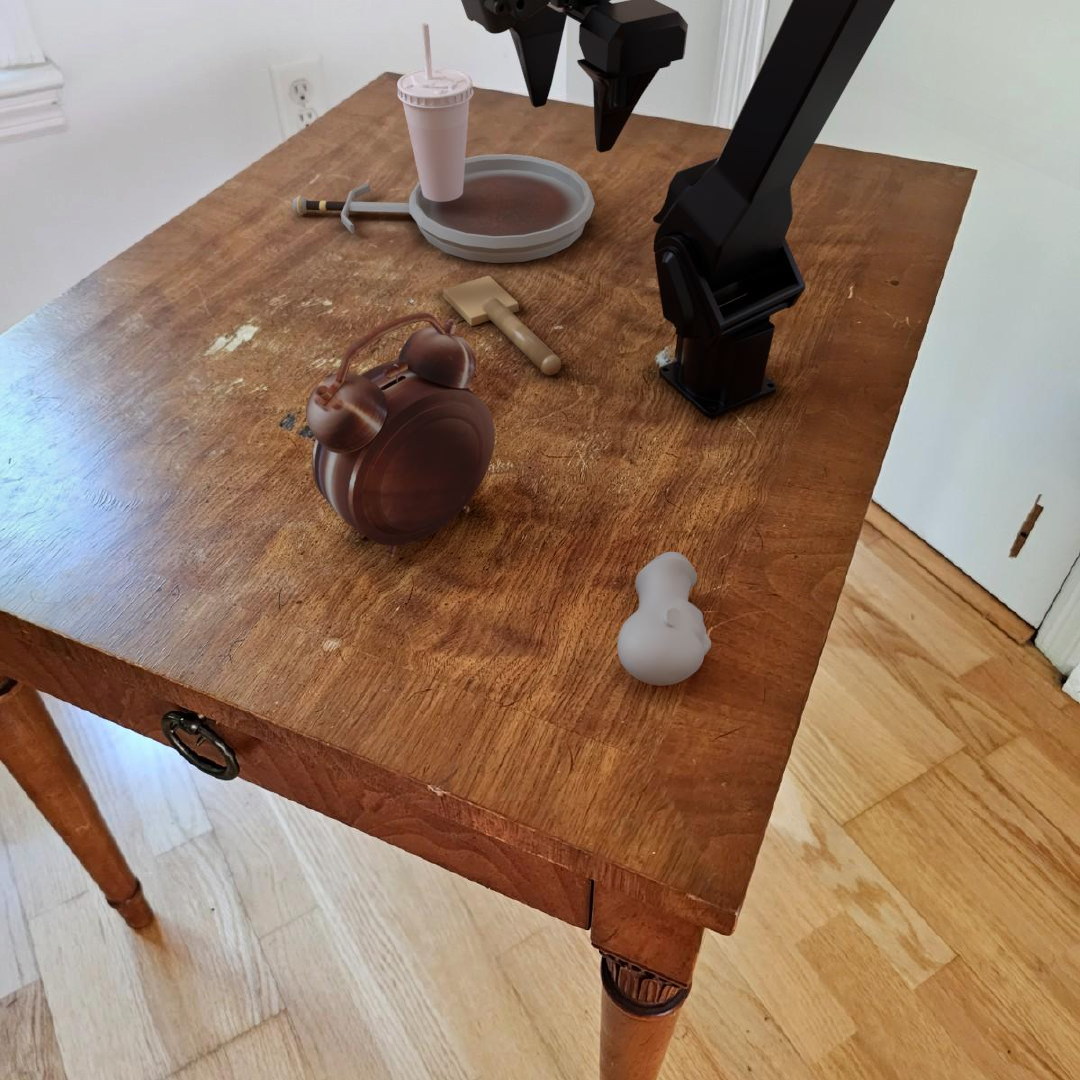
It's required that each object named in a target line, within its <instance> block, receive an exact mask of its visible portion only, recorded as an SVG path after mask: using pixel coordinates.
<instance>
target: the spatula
mask: <svg viewBox="0 0 1080 1080" xmlns="http://www.w3.org/2000/svg"><path fill="white" fill-rule="evenodd" d="M442 297H443V299H444V300H445V301H446V302H447V303H448V304H449V305H450V306H451V307H452V308H453V309H454V310H455V311H456V312H457V313H458V314H459V315H460V316H461V317H462V318H463V319H464V321H466V322H467V324H469V326H470V327H474V326H477V325H480V324H484V323H486V322H489V321H491V322H492V323H493V324H494V325H495V326H496V327H497V328H498V329H499V330H500V332H502V333H503V334H504V336H506V337H507V338H508V340H510V342H512V343H513V344H514V346H515V347H517V348H518V349H519V350H520V351H521V352H522V353H523V354H524V355H525V356H526V358H528V359H529V360H530V361H531V362H532V364H534V365H535V366H536V367H537V368H538V369H539V370H540V371H541V372H542V373H543V374H545V375H548V376H555V375H556V374H557V373H559V372H560V370H561V367H562V361H561V358H560V357H559V356H558V355H557V354H556V353H555V352H554V351H553V350H552V349H551V348H549V347H548V346H547V344H545V343H544V341H542V340H541V338H539V337H538V336H537V335H536V334H535V333H534V332H533V331H532V330H531V329H530V328H529V327H528V326H526V324H525V323H524V322H522V320H521V319H520V318H518V317H517V316H516V314H514V313H517V312H519V311H520V309H519V308H520V307H519V302H518V301H517V300H516V299H515V298H514V297H513V296H512V295H510V294H509V292H507V290H505V289H504V288H503V287H502V286H501V285H500V284H499V283H498V282H497V281H495V279H494V278H492V277H491V276H490V275H486V276H482V277H479V278H476V279H473V280H468V281H465V282H463V283H459V284H456V285H453V286H450V287H446V288H443V289H442Z"/></svg>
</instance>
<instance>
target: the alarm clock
mask: <svg viewBox="0 0 1080 1080" xmlns="http://www.w3.org/2000/svg"><path fill="white" fill-rule="evenodd" d="M421 322H427V323H429V324H430V325H431V326H432V327H424V328H421V329H418V330H417V331H414V332H413V333H412V334H411V335H410V336H409V337H408V338H407V340H406V341H405V342H404V344H403V346H402V348H401V349H400V352H399V354H398V357H397V359H393V360H390V361H386V362H383V363H381V364H379V365H376V366H374V367H371V368H370V369H368V370H367V371H366V372H364V373H362V374H357V373H353V372H349V369H350V366H351V363H352V361H353V360H354V358H355V357H356V356H358V354H359V353H360V352H362V351H363V350H364V349H366V348H367V347H369V345H371V344H372V343H374V342H375V341H377V340H378V339H379V338H381V337H383V336H385V335H388V334H389V333H391V332H394V331H395V330H398V329H400V328H402V327H406V326H408V325H411V324H412V325H413V324H416V323H421ZM456 329H457V323H456V320H455V319H453V318H448V319H447V320H446V321H445V322H444V325H441V323H440V322H439V321H438V319H436V317H434V316H433V315H432V314H430V313H428V312H417V313H412V314H408V315H404V316H401V317H397V318H395V319H393V320H391V321H389V322H386V323H385V324H381V325H380V326H378V327H376V328H375V329H373V330H372V331H370V332H368V333H367V334H366V335H364V336H363V337H361V338H360V339H359V340H357V341H356V342H355V343H354V344H352V345H351V346H350V347H348V349H347V350H346V351H345V353H344V354H343V356H342V358H341V361H340V365H339V368H338V371H337V373H335V374H332V375H329V376H328V377H326V378H324V379H323V380H322V381H320V382H319V383H318V384H317V385H316V386H315V387H314V388H313V389H312V391H311V392H310V395H309V397H308V399H307V402H306V406H305V407H306V408H305V419H306V421H307V425H308V428H309V430H310V432H311V433H312V435H313V436H314V438H315V439H314V441H313V442H314V443H313V448H312V455H311V471H312V476H313V480H314V484H315V485H316V487H317V489H318V491H319V492H320V494H321V495H322V496H323V498H324V499H325V500H326V502H327V503H328V504H329V505H330V506H331V508H332V509H333V510H334V511H335V513H337V515H338V516H339V517H340V518H341V519H342V520H343V521H344V522H346V524H348V525H349V526H350V527H352V528H353V529H354V530H356V531H358V532H357V533H356V537H357V539H359V540H362V539H364V538H365V537H366V538H367V539H368V540H370V541H372V542H374V543H376V544H378V545H382V546H388V551H387V552H386V557H387V558H388V559H394V557H395V551H396V549H397V547H399V546H406V545H410V544H413V543H417V542H420V541H421V540H423V539H425V538H428V537H430V536H432V535H433V534H435V533H436V532H438V531H439V530H441V529H442V528H444V527H445V526H446V525H447V524H449V523H450V522H451V521H452V520H453V519H454V518H456V516H458V514H460V512H461V511H462V512H463V513H465V514H467V513H468V512H470V509H471V507H469V506H468V505H467V504H468V503H469V502H470V501H471V500H472V498H473V497H474V495H475V493H476V492H477V491H478V489H479V488H480V486H481V484H482V482H483V480H484V478H485V476H486V474H487V472H488V469H489V468H490V465H491V461H492V458H493V453H494V450H495V442H496V441H495V440H496V428H495V423H494V418H493V415H492V413H491V410H490V408H489V407H488V405H487V404H486V402H484V401H483V400H482V399H481V398H480V397H479V396H478V395H476V393H474V392H473V391H472V390H471V389H470V387H472V385H473V382H474V379H475V374H476V369H477V368H476V367H477V359H476V355H475V351H474V350H473V348H472V346H471V345H470V343H469V342H468V341H467V340H466V339H464V338H463V337H465V334H464V333H462V332H460V331H456Z"/></svg>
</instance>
